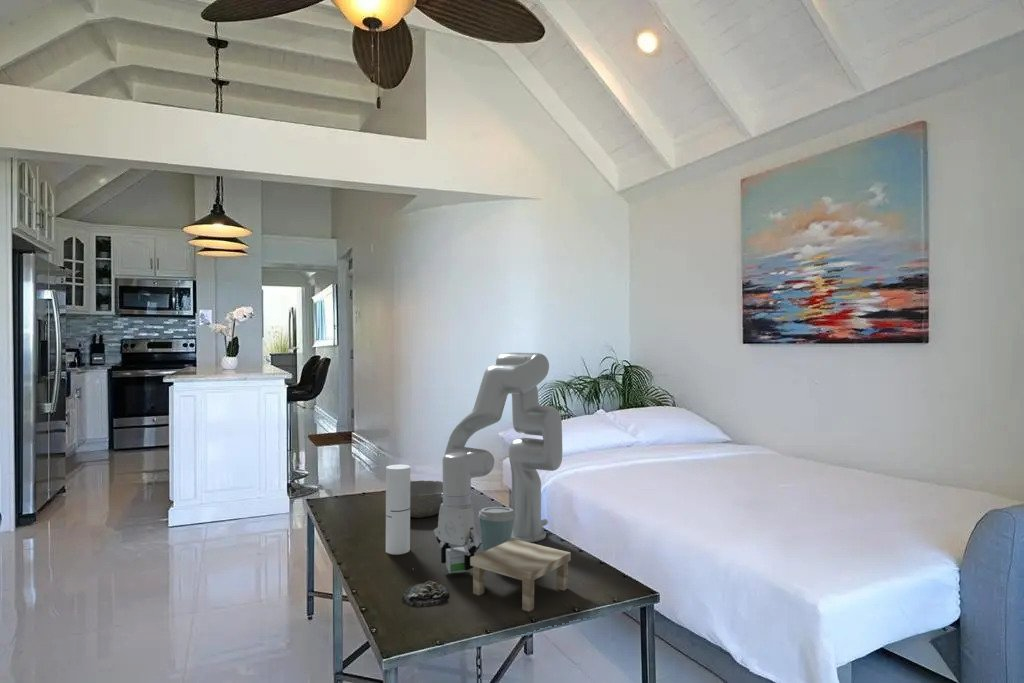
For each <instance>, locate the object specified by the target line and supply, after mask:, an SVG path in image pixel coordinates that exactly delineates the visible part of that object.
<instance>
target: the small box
mask: <svg viewBox="0 0 1024 683" xmlns="http://www.w3.org/2000/svg"><path fill="white" fill-rule="evenodd" d="M465 555H467V554H466V552H465V550H464V547H461V546H456V547H451V548H448V549H446V563H445V567H446V569H447V571H448V573H449V574H454V573H460V572H461V573H462V572H463V573H464V572H470V570H471V569H469V570H465V565H464V556H465Z"/></svg>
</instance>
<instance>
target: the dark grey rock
mask: <svg viewBox="0 0 1024 683" xmlns="http://www.w3.org/2000/svg"><path fill="white" fill-rule="evenodd" d="M448 598H449V589H448V587H446V586H443V585H442V584H438V583H437V582H435V581H432V580H428V581H426V582H423V583H415V584H413V585H410V586H409V587H407V588H406V589H405V590H404V592H403V595H402V597H401V598H400V599H401V600H400V601H401V603H402V604H404V605H406V606H408V607H416V608H420V607H429V606H436V605H438V604H441V603H443V602H444V601H446V600H448Z"/></svg>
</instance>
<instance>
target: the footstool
mask: <svg viewBox="0 0 1024 683" xmlns="http://www.w3.org/2000/svg"><path fill="white" fill-rule="evenodd" d="M571 556H572V554H571V552H570V551H565V550H561V549H557V548H553V547H549V546H544V545H541V544H536V543H534V542H525V541H521V540H516V539H512V540H510V541H507V542H505V543H503V544H500V545H498V546H496V547H493V548H491V549H489V550H486V551H484V552H483V551H482V552H479V553H477V554H474V556H472V557H470V565H471V566H473V568H472V594H473V595H476V596H482V595H483V594H485V571H489V572H492V573H495V574H499V575H501V576H505V577H509V578H513V579H515V580H519V581H521V584H522V585H521V586H522V587H521V588H522V590H521V593H522V594H521V597H522V599H521V602H522V603H521V604H522V606H521V607H522V608H521V610H522V611H525V612H532V611H533V610H534V609H535V580H537V579H539V578H541V577H543V576H544V575H547V574H548V573H551V572H552V571H553V570H556V589H557V590H558V591H563V592H564V591H566V590H567V589H569V582H568V581H569V562H570V561H572V560H571V559H572V558H571Z"/></svg>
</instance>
